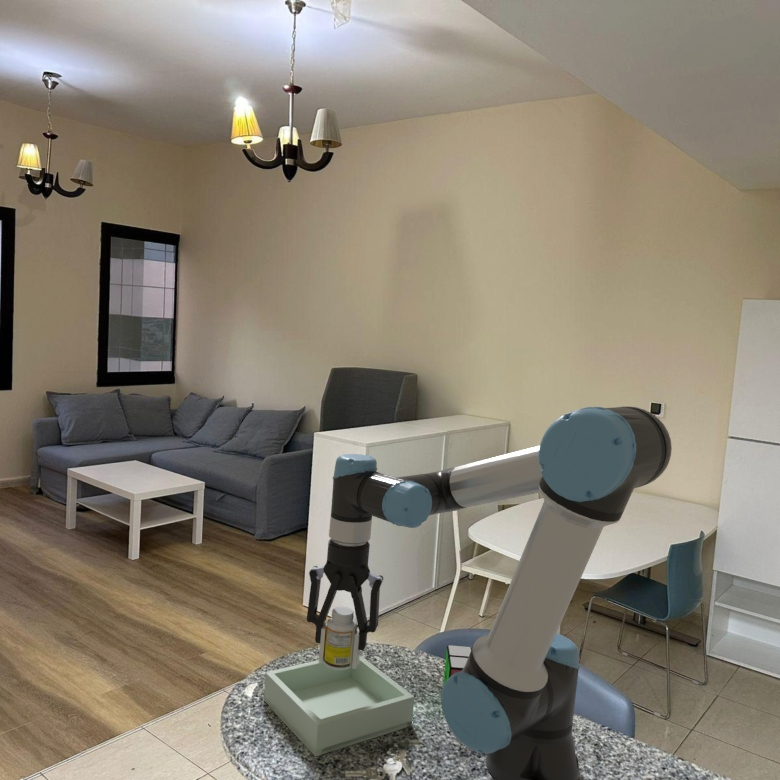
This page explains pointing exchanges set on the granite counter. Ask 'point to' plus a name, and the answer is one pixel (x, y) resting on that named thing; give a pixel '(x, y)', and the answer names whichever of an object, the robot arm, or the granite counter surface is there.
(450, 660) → the puzzle cube
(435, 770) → the granite counter surface
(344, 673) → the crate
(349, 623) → the supplement bottle
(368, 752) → the granite counter surface
